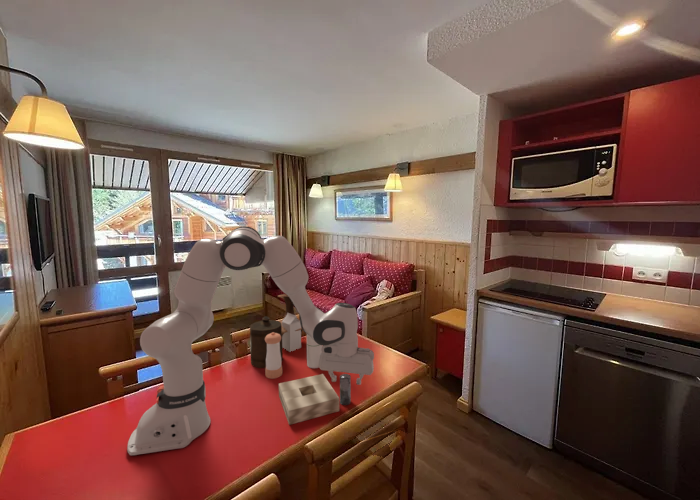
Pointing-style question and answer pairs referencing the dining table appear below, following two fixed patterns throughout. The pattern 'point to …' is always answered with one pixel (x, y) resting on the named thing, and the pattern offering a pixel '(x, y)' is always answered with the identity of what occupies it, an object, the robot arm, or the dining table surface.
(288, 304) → the pitcher
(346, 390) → the pin
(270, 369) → the pepper shaker
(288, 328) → the milk carton
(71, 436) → the dining table surface
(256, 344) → the wooden container
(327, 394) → the socket block
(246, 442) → the dining table surface
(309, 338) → the cylindrical container
